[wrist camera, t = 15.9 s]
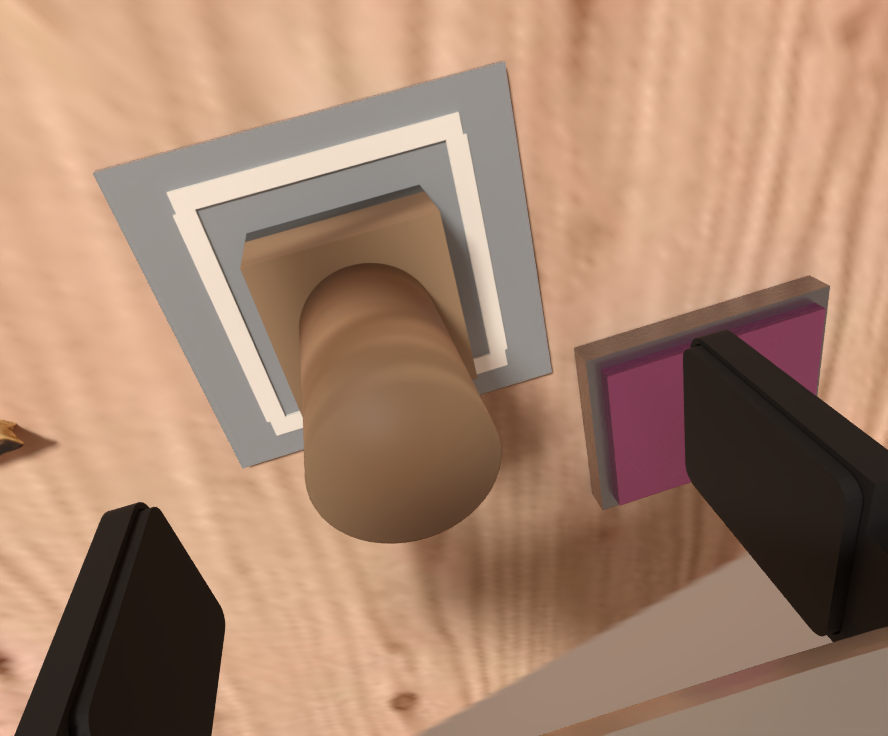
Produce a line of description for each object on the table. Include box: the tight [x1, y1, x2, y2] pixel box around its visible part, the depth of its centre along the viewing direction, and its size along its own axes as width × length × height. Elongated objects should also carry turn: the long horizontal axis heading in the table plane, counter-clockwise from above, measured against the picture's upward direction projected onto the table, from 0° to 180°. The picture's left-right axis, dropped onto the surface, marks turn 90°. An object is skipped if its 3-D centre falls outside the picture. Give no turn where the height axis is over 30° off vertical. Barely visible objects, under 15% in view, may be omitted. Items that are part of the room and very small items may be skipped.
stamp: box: [240, 185, 501, 544], centre depth 15 cm, size 5×5×9 cm
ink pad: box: [574, 276, 830, 510], centre depth 24 cm, size 9×7×2 cm
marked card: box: [93, 61, 552, 468], centre depth 19 cm, size 11×10×1 cm
